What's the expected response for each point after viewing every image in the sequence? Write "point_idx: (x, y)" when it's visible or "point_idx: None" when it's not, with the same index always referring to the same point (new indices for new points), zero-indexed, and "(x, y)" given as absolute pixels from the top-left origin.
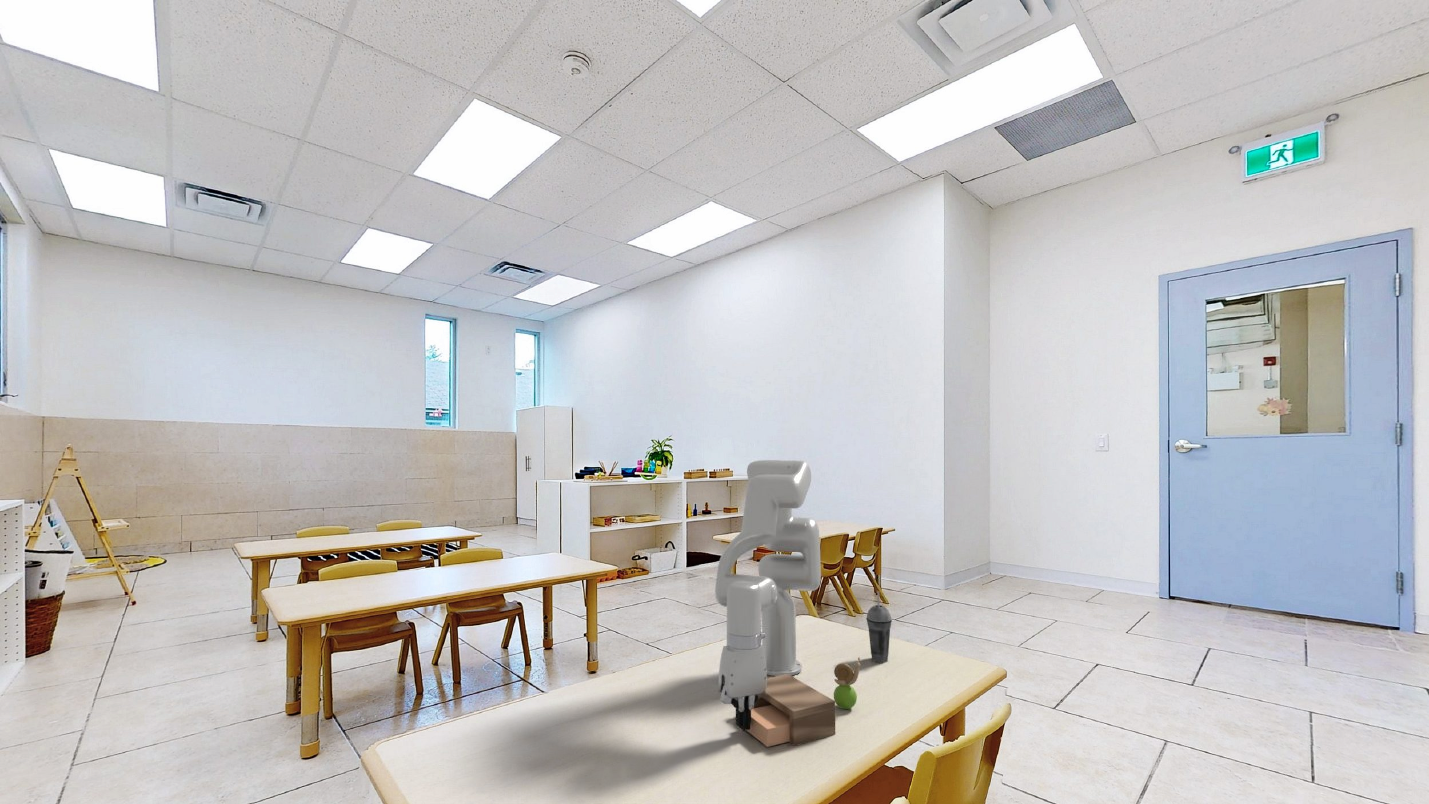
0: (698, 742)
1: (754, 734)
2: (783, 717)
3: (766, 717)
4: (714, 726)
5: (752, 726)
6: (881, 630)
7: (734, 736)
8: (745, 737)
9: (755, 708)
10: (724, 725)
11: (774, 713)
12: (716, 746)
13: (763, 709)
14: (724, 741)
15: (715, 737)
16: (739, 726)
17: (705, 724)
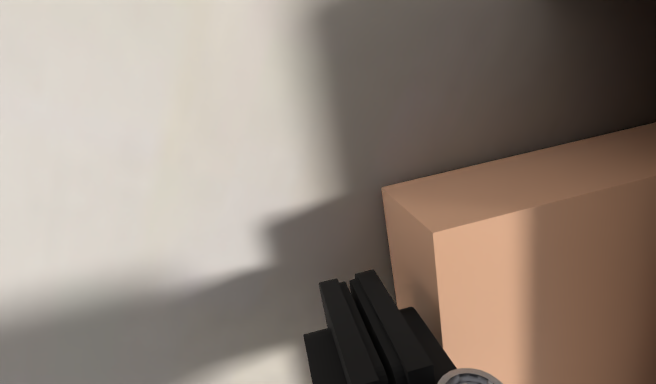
0: (11, 290)
1: None
2: (646, 381)
3: (546, 372)
4: (182, 80)
5: None
6: None
7: (289, 264)
8: None
9: (562, 205)
10: (269, 89)
11: (636, 319)
12: (137, 356)
13: (609, 236)
14: (205, 310)
15: (154, 250)
16: (327, 322)
17: (106, 15)
